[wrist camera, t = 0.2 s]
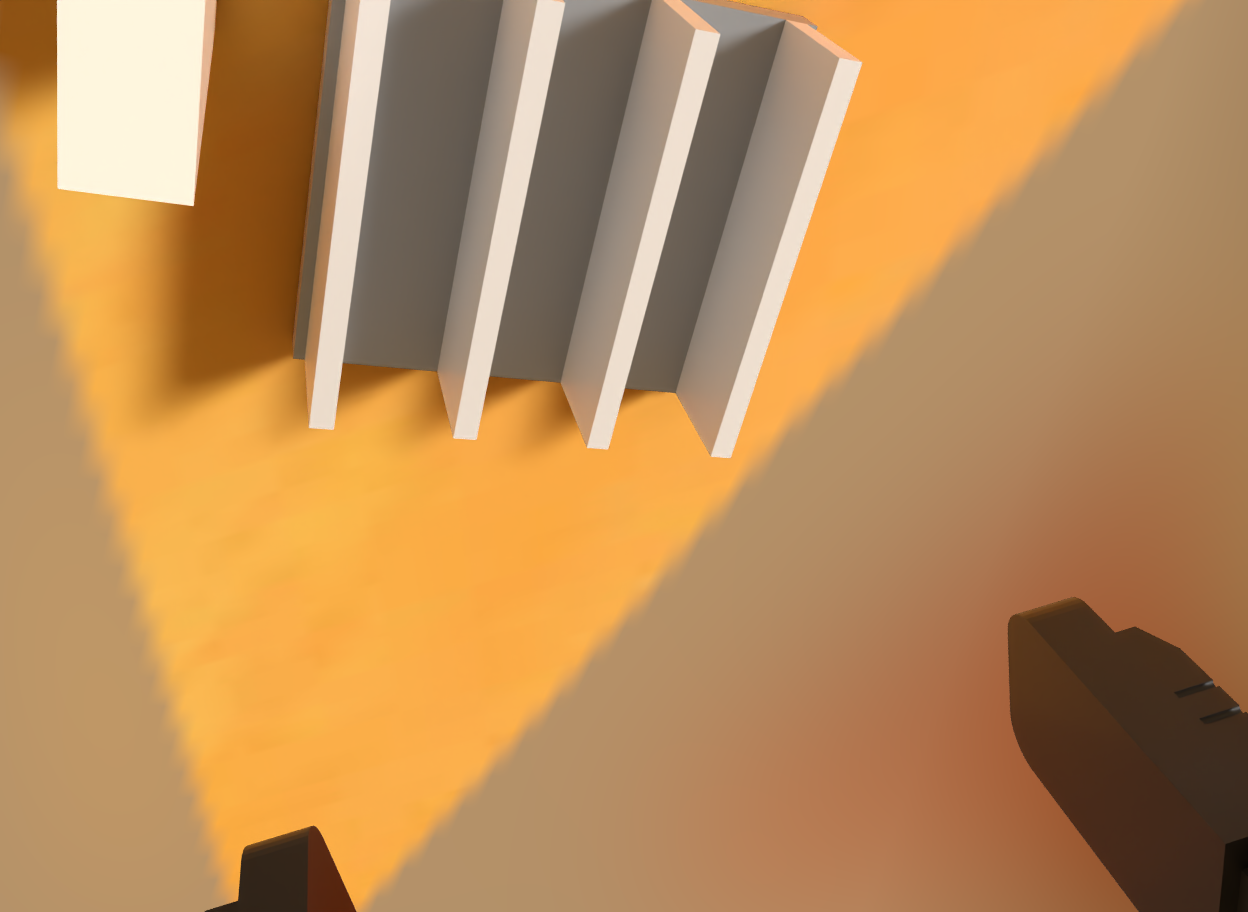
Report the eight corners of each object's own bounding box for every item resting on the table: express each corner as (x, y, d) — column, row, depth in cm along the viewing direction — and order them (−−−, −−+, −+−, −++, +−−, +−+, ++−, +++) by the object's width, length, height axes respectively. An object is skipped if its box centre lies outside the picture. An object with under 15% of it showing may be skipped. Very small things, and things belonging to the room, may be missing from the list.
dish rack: (337, -82, 27) (349, -41, 24) (802, 16, 31) (873, 65, 28) (292, 341, 33) (296, 426, 29) (693, 379, 37) (740, 458, 33)
